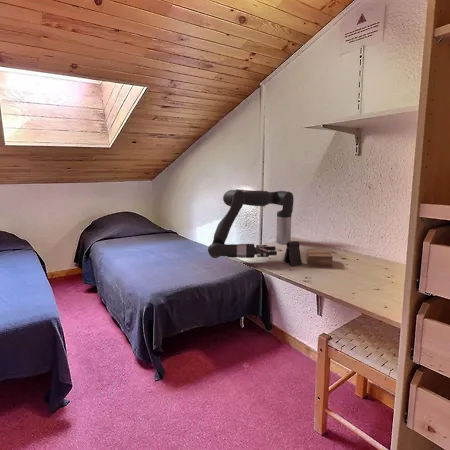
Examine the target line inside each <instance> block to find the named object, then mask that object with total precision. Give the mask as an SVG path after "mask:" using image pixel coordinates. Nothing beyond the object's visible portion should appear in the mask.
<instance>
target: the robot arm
mask: <svg viewBox="0 0 450 450" xmlns="http://www.w3.org/2000/svg"><path fill="white" fill-rule="evenodd" d="M294 199H295V198H294V193H292V192H290V191H286V190H278V191H267V190H249V191H242V189H241V190H239V189H230V190H227V191H226V192H225V193H224V194H223V197H222V201H223V203H224V204H225V205H226V206H227V207H230V208H229V209H228V211H227V213H226V214H225V215H224V216H223V218H222V219H221V220H220V221H219V222H218V225H217V226H216V229H215V232H214V235H213V240H212V243H211V244H210V245H208V248H207V253H208V255H209V256H210V257H211V258H213V259H217V258H219V257H227V258H240V259H254V258H255V255H256V257H257V258H269V257H270V256H277V254H278V252H277V250H276V246H269V245H267V244H256V245H255V244H254V243H238V244H237V243H236V244H235V243H234V244H232V243H231V244H227V243H226V240H227V239H228V236H229V233H230V231H231V228H232V226H233V224H234V223H235V220H236V218H237V216H238V215H239V213H240V211H241V209H242V208H243V206H254V207H266V206H268V205H277V206H282V209H281V210H278V211H276V238H275V239H276V243H277V244H280V245H287V242H292V240H291V239H292V214H293V210H294Z"/></svg>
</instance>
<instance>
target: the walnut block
mask: <svg viewBox="0 0 450 450" xmlns="http://www.w3.org/2000/svg"><path fill="white" fill-rule="evenodd" d="M305 256H306V259H305V260H306V264H307V267H309V268H310V267H311V268H333V259H334V258H333V257H334V256H333V255H332V253H331V251H330V249H306V255H305Z"/></svg>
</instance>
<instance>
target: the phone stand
mask: <svg viewBox="0 0 450 450" xmlns="http://www.w3.org/2000/svg"><path fill="white" fill-rule="evenodd" d="M282 262H283V263H285V264H287V265H289V266H290V267H298V266H302V265H303V262H302V257H301V250H300V242H299V240H295V241H293V240H292V241H291V242H287V244H286V249H285V251H284V256H283V260H282Z"/></svg>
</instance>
